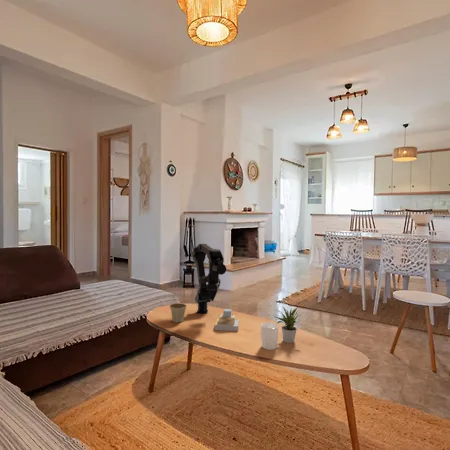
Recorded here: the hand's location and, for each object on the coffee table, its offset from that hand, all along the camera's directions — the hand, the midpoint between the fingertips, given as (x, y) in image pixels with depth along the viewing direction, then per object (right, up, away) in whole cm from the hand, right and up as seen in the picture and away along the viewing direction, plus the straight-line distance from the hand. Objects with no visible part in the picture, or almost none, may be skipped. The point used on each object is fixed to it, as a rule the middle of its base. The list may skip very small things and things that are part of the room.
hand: (213, 298), depth 184 cm
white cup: (+27, -14, -36) cm, 47 cm away
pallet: (+8, -10, -11) cm, 17 cm away
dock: (+8, -13, -11) cm, 18 cm away
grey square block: (+8, -7, -11) cm, 15 cm away
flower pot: (-20, -12, -3) cm, 23 cm away
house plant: (+38, -14, -27) cm, 48 cm away
